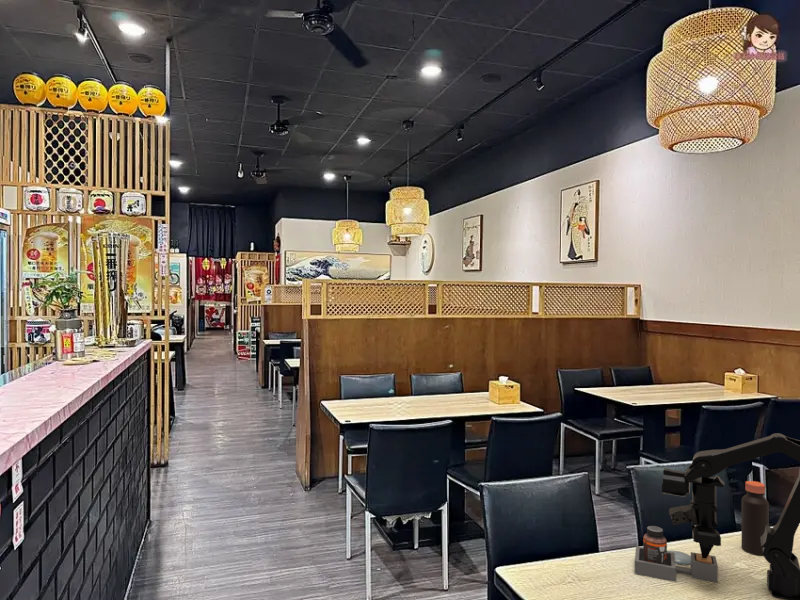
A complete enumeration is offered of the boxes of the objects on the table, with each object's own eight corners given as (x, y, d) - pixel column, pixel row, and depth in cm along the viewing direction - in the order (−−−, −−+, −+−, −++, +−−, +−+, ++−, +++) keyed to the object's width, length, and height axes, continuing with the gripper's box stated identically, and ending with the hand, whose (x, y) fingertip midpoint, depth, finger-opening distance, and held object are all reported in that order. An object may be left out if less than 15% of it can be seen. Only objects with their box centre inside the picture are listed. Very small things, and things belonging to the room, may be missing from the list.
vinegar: (763, 558, 159) (764, 489, 159) (737, 550, 164) (738, 483, 164) (772, 551, 163) (772, 484, 163) (746, 543, 169) (746, 478, 169)
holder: (715, 572, 151) (715, 556, 151) (719, 590, 142) (719, 572, 142) (635, 558, 159) (635, 542, 159) (634, 573, 150) (634, 557, 150)
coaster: (692, 555, 161) (692, 553, 161) (694, 567, 154) (694, 565, 154) (662, 549, 164) (662, 548, 164) (662, 561, 157) (662, 560, 157)
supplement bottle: (669, 575, 149) (669, 534, 149) (646, 573, 150) (646, 532, 150) (663, 565, 155) (663, 525, 155) (641, 563, 156) (641, 523, 156)
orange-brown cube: (710, 570, 150) (710, 555, 150) (712, 576, 147) (712, 561, 147) (695, 567, 152) (695, 553, 152) (696, 573, 148) (696, 558, 148)
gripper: (670, 485, 161) (670, 538, 161) (672, 507, 144) (672, 566, 144) (713, 490, 156) (713, 545, 156) (721, 513, 139) (721, 575, 139)
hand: (704, 557), depth 149 cm, fingers closed, pressing on orange-brown cube
